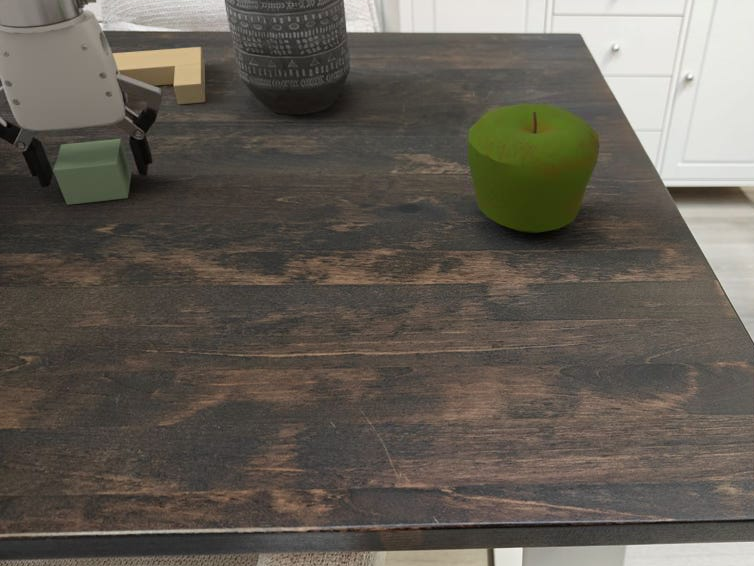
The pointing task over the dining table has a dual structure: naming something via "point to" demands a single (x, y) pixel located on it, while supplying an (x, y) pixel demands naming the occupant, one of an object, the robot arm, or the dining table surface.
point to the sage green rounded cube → (93, 171)
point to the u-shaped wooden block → (168, 70)
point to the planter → (290, 51)
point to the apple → (531, 165)
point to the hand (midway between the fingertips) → (96, 175)
